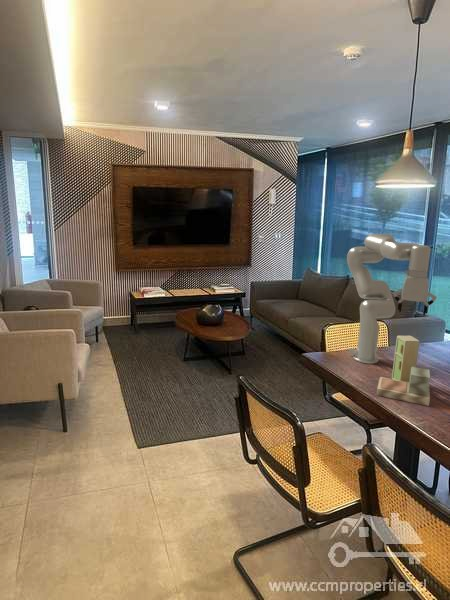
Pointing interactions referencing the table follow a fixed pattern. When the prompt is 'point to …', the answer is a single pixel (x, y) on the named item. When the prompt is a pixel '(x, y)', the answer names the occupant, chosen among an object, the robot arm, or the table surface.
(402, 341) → the toy refrigerator
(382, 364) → the table surface
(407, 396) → the board
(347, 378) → the table surface
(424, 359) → the table surface
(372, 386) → the table surface
